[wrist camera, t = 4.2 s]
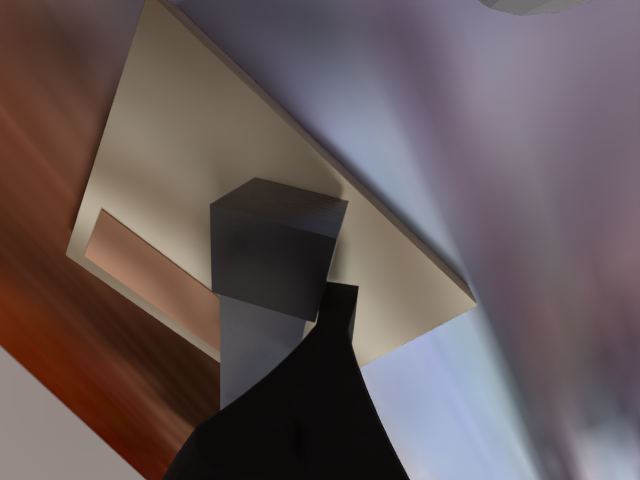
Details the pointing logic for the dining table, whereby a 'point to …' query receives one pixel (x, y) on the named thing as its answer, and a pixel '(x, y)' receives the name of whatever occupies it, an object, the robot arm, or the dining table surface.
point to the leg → (268, 274)
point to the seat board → (223, 177)
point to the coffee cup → (531, 6)
